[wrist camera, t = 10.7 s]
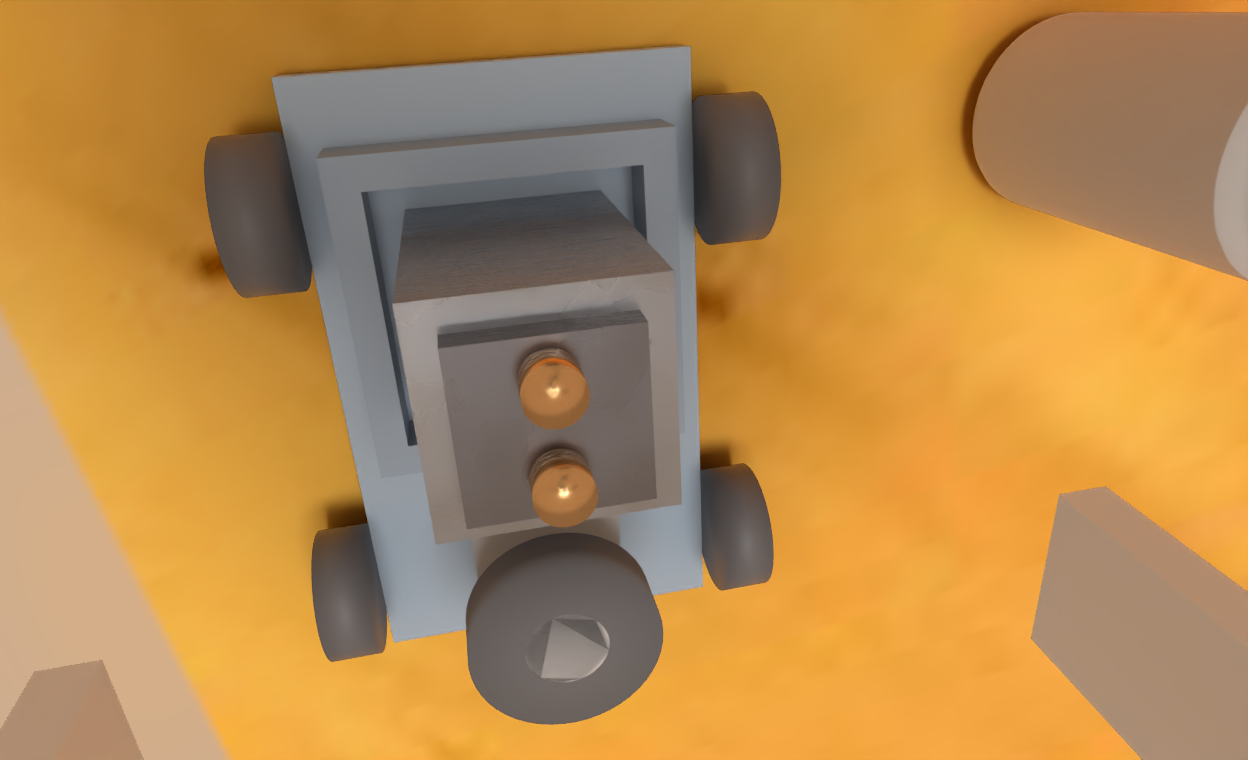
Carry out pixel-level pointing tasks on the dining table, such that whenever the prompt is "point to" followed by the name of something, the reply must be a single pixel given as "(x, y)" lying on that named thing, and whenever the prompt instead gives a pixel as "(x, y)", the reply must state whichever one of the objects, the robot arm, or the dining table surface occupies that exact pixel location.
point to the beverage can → (1127, 129)
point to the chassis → (475, 172)
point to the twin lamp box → (537, 363)
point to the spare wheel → (561, 629)
